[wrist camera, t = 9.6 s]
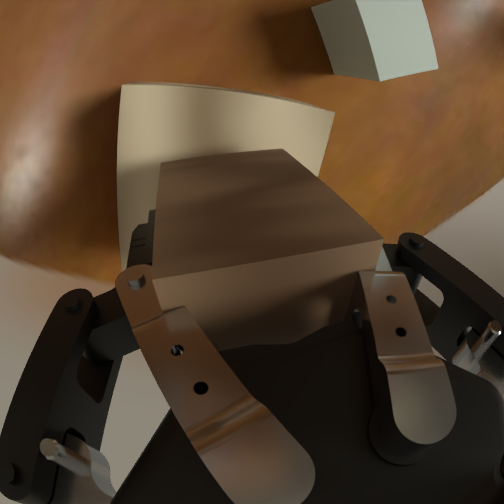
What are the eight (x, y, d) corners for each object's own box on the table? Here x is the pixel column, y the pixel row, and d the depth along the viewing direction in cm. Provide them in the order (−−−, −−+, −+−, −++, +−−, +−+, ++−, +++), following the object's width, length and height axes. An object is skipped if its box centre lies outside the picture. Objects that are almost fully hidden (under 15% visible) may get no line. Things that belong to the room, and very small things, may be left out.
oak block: (296, 100, 17) (335, 112, 13) (265, 231, 22) (288, 273, 18) (136, 81, 14) (122, 85, 10) (130, 228, 19) (122, 274, 15)
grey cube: (370, 0, 13) (419, -7, 9) (388, 61, 16) (438, 68, 12) (310, 7, 13) (353, -6, 9) (333, 74, 16) (379, 81, 12)
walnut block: (282, 148, 12) (384, 239, 6) (279, 246, 15) (342, 361, 9) (160, 162, 11) (151, 279, 5) (179, 263, 14) (195, 397, 8)
